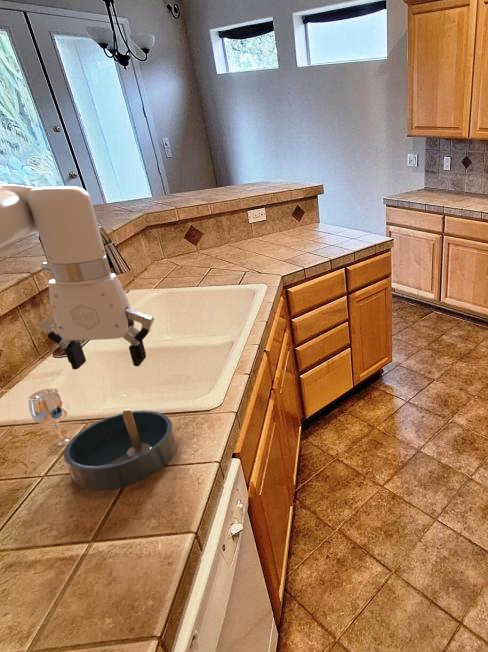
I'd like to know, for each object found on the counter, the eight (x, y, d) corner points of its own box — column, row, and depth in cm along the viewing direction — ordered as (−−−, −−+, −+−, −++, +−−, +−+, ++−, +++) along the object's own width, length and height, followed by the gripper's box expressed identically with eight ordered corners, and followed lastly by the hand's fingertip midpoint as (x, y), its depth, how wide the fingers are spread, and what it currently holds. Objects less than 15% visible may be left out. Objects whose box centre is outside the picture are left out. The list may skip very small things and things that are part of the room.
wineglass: (39, 450, 86) (17, 400, 81) (67, 433, 91) (48, 384, 86) (60, 456, 85) (38, 405, 79) (87, 438, 90) (69, 390, 84)
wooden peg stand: (125, 463, 82) (109, 417, 77) (133, 450, 86) (118, 404, 81) (147, 461, 83) (133, 415, 78) (155, 448, 86) (141, 403, 82)
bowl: (53, 498, 75) (42, 474, 73) (100, 435, 91) (92, 414, 88) (160, 487, 78) (153, 464, 75) (188, 428, 93) (182, 407, 91)
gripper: (4, 277, 63) (42, 377, 71) (130, 275, 66) (155, 372, 73) (34, 264, 70) (67, 356, 77) (148, 262, 73) (169, 352, 80)
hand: (110, 364), depth 75 cm, fingers open, 9 cm apart
